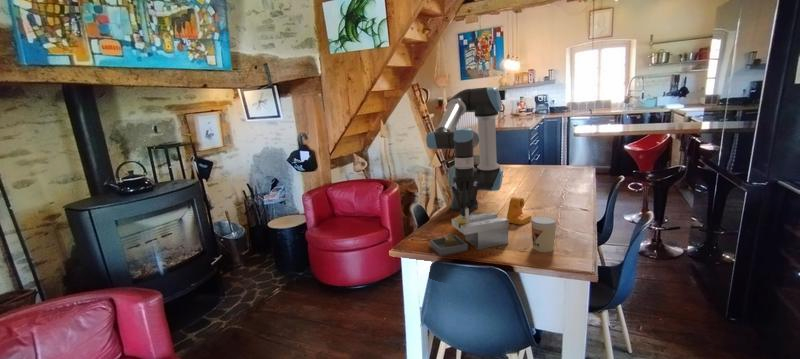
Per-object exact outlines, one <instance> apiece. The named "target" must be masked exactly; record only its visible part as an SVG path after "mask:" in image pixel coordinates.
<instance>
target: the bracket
mask: <svg viewBox="0 0 800 359" xmlns="http://www.w3.org/2000/svg"><path fill="white" fill-rule="evenodd" d="M524 207H525V199H524V198H523V197H520V196H519V197H517V196H511V198H510V200H509V204H508V210H507V214H506V219H508V223H511V224H515V225H522V226H523V225H526V224H527V223H529V222H530V221H531V220H532V214H530V213H529V214H528V213H524V212H523V208H524Z"/></svg>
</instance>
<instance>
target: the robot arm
mask: <svg viewBox="0 0 800 359" xmlns="http://www.w3.org/2000/svg"><path fill="white" fill-rule="evenodd" d="M501 111H502V99H501V95H500V91H499V89H498V88H497V87H493V86H492V87H490V86H487V87H475V88H474V87H473V88H465V89H462V90H460V91H459V92H457V93H456V94H454V95H453V96H452V97H451V98H450V99H449V101H447V104H446V111H445V113H444V115H443V116H442V118H441V121H440V122H439V124H438V126H437V128H436V129H435V131H430V132H428V133H427V134H426V137H425V138H426V140H425V141H426V146H427V148H428V149H429V150H453V151H454V167H455V168H454V169H453V171H452V185H451V184H450V185H449V189H450V190H451V192H452V199H451V202H450V209H451V210H453V211H456V212H460V215H462V216H463V217H464V218H466V224H469V215H470V214H471V213H472V212H473V211H476V210H478V209H479V202H478V199H477V196H478V191H484V192H485V191H490V192H492V191H493V192H494V191H495V192H497V191H499V190H501V188H502V184H503V178H504V169H503V168H501V166H500V164H499V163H498V162H497V161H498V160H497V159H498V158H497V157H498V156H497V137H496V136H497V133H496V131H497V130H496V128H497V127H496V118H497V116H499V112H501ZM465 113H474V117H475V118H476V119H477V125H478V128H477V130H478V132H477V131H476V130H473V129H472V128H470V127H461V128H460V127H459V128H457V127H458V123H459V121H460V120H461V118H462V117H463V115H464V114H465ZM477 146H478V148H479V150H478V151H479V164H478V165H477V168H475V166H474V161H475V160H474V158H475V157H474V148H476V147H477Z"/></svg>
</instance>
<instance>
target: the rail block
mask: <svg viewBox="0 0 800 359" xmlns="http://www.w3.org/2000/svg"><path fill="white" fill-rule="evenodd" d="M477 214H478V215H472V216H469V224H464V225H461V228H458V227H457V226H455V217H454V218H451V226H452V227H454V228H455V229H456V230H458V231H459V232H460V233H461V234H463V235H464V240H465V242H468V243H469V244H470V245H471V246H473V247H474V248H475V249H477V250H483V249H488V248H493V247H498V246H499V247H500V246H503V245H509V222H508V219H507V217H498V214H497V213H496V212H494V211H491V212H484V213H477Z"/></svg>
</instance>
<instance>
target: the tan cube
mask: <svg viewBox="0 0 800 359" xmlns="http://www.w3.org/2000/svg"><path fill="white" fill-rule="evenodd" d="M454 218H455V226H457V227H458V228H461V225H464V224H466V218H464V217H463V216H461V217H458V216H455V217H454Z"/></svg>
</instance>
